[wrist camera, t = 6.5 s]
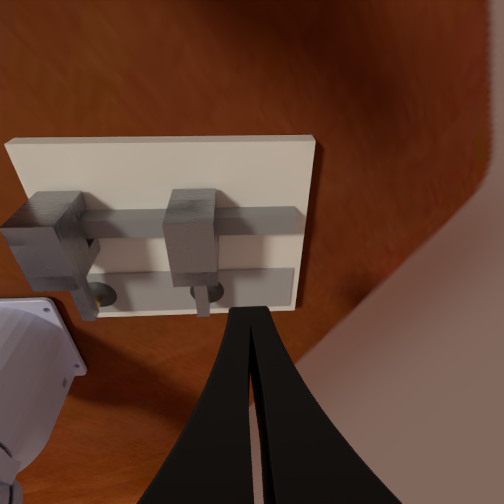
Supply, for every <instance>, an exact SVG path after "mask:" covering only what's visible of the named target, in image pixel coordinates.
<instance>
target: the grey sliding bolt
mask: <svg viewBox="0 0 504 504" xmlns="http://www.w3.org/2000/svg"><path fill="white" fill-rule="evenodd" d="M216 209H217V200H216V188H205V189H173V190H172V193H171V196H170V199H169V203H168V206H167V209H166V213H165V216H164V219H163V223H162V228H163V233H164V239H165V244H166V249H167V255H168V260H169V266H170V271H171V277H172V282H173V287H194V294H195V301H196V309H197V316H198V317H208V316H210V294H209V289H208V286H218V269H219V236H217V222H216Z"/></svg>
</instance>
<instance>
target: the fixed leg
mask: <svg viewBox="0 0 504 504" xmlns="http://www.w3.org/2000/svg"><path fill="white" fill-rule="evenodd" d="M86 207H87V206H86V203H85V200H84V197H83V194H82V191H37V192H36V193H34V194H33V195H32V196H31V197H30V198H29V199H28V200H27V201H26V202H25V203H24V204H23V205H22V206H21V207H20V208H19V209H18V210H17V211H16V212H15V213H14V214H13V215H12V216H11V217H10V218H9V219H8V220H7V221H6V222H5V223H4V224H3V225H2V226H1V227H0V231H1V233H2V234H3V236H4V238H5V240H6V242H7V244H8V246H9V247H10V249H11V251H12V253H13V255H14V257H15V259H16V260H17V262H18V264H19V266H20V268H21V270H22V272H23V273H24V275H25V277H26V279H27V281H28V283H29V285H30V286H31V288H32V290H33V292H36V291H68V290H69V291H70V293H71V295H72V298H73V300H74V302H75V304H76V307H77V309H78V311H79V313H80V315H81V318H82V320H83V321H96V318H97V316H98V314H99V307H100V305H101V303H102V300H103V299H102V297H101V296H99V295H94V296H93V294H92V291H91V289H90V286H89V283H88V281H87V278H86V277H87V275H88V273H89V271H90V269H91V267H92V265H93V263H94V261H95V259H96V257H97V255H98V254H99V252H100V250H101V248H100V245H99V242H98V239H86V238H85V235H84V232H83V230H82V227H81V224H80V221H79V217H80V216H81V214H82V213H83V211H84V210H85V208H86Z"/></svg>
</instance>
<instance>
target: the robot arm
mask: <svg viewBox="0 0 504 504" xmlns="http://www.w3.org/2000/svg"><path fill="white" fill-rule="evenodd" d="M86 372H87V368H86V366H85V364H84V362H83V360H82V358H81V356H80V354H79V352H78V350H77V348H76V346H75V344H74V342H73V340H72V338H71V336H70V334H69V332H68V330H67V328H66V326H65V324H64V322H63V320H62V318H61V316H60V314H59V312H58V310H57V308H56V306H55V304H54V302H53V301H52V300H51V299H50V298H46V297H40V298H10V299H0V504H22V499H23V493H22V487H21V484H20V483H19V482H18V481H16V480H14V479H15V477H16V474H17V473H18V472H20V471H21V470H23V469H24V468H25V467H27V466H28V465H29V464H30V463H31V462H32V461H33V460H34V459H35V458H36V457H37V456H38V455H39V453H40V452H41V451H42V449H43V448H44V447H45V445H46V443H47V441H48V439H49V437H50V435H51V432H52V430H53V428H54V425H55V423H56V420H57V418H58V415H59V413H60V411H61V408H62V406H63V403H64V401H65V398H66V396H67V394H68V391H69V389H70V386H71V384H72V382H73V379H74V377H75V376H82V375H85V374H86ZM250 374H251V381H252V388H253V395H254V402H255V409H256V416H257V423H258V430H259V438H260V449H261V464H262V482H263V498H264V504H402V503H401V502H400V500H399V499H398V498H397V497H396V496H395V495H394V494H393V493H392V492H391V491H390V490H389V489H388V488H387V487H386V486H385V485H384V484H383V482H381V480H380V479H379V478H378V477H377V476H376V475H375V474H374V473H373V472H372V470H371V469H370V468H369V467H368V466H367V465H366V464H365V462H364V461H363V460H362V459H361V458H360V457H359V456H358V454H357V453H356V452H355V451H354V450H353V448H352V447H351V446H350V445H349V443H348V442H347V441H346V440H345V438H344V437H343V436H342V435H341V433H340V432H339V431H338V430H337V428H336V427H335V426H334V425H333V423H332V422H331V421H330V419H329V418H328V417H327V415H326V414H325V412H324V411H323V410H322V408H321V407H320V405H319V404H318V402H317V401H316V399H315V398H314V397H313V395H312V394H311V392H310V390H309V389H308V388H307V386H306V384H305V383H304V381H303V379H302V378H301V376H300V374H299V373H298V371H297V369H296V367H295V366H294V364H293V362H292V360H291V358H290V356H289V354H288V353H287V351H286V349H285V347H284V345H283V343H282V341H281V339H280V336H279V334H278V332H277V329H276V327H275V325H274V322H273V319H272V316H271V314H270V310H269V308H268V307H267V306H245V307H231V308H230V309H229V311H228V319H227V324H226V329H225V333H224V336H223V340H222V343H221V346H220V349H219V352H218V355H217V358H216V361H215V363H214V366H213V368H212V371H211V373H210V375H209V378H208V380H207V383H206V385H205V387H204V390H203V392H202V394H201V396H200V398H199V400H198V402H197V404H196V406H195V408H194V410H193V412H192V414H191V416H190V418H189V420H188V422H187V424H186V426H185V427H184V429H183V431H182V433H181V435H180V436H179V438H178V440H177V442H176V443H175V445H174V447H173V448H172V450H171V452H170V453H169V455H168V457H167V458H166V460H165V461H164V463H163V465H162V466H161V468H160V469H159V471H158V473H157V474H156V476H155V477H154V479H153V480H152V482H151V484H150V485H149V486H148V488H147V489H146V491H145V492H144V494H143V495H142V497H141V498H140V500H139V501H138V502H137V504H254V493H253V478H252V461H251V445H250V426H249V385H250Z"/></svg>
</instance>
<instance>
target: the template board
mask: <svg viewBox="0 0 504 504" xmlns="http://www.w3.org/2000/svg"><path fill="white" fill-rule="evenodd" d="M315 142H316V141H315V139H314V138H313V136H312V135H261V136H157V137H53V138H13V139H12V140H10V141H9V142H7V143H5V144H4V145H5V147H6V150H7V152H8V154H9V156H10V158H11V161H12V163H13V165H14V167H15V170H16V172H17V174H18V176H19V179H20V181H21V183H22V185H23V188H24V190H25V192H26V194H27V197H28V199H29V198H30V197H31V196H32V195H33V194H34V193H36V192H37V191H82V194H83V197H84V200H85V203H86V206H87V207H86V208H85V210H84V211H83V213H82V214H81V216H80V217H79V221H80V224H81V227H82V230H83V232H84V235H85V238H86V239H98V242H99V245H100V248H101V250H100V252H99V254H98V255H97V257H96V259H95V261H94V263H93V265H92V267H91V269H90V271H89V273H88V275H87V277H86V278H87V281H88V283H89V286H90V289H91V291H92V294H93V296H94V295H99V296H101V297H102V299H103V300H102V303H101V305H100V307H99V314H98V316H97V317H118V316H146V315H174V314H197V309H196V301H195V294H194V287H173V282H172V277H171V271H170V266H169V260H168V255H167V249H166V244H165V239H164V233H163V228H162V223H163V219H164V216H165V213H166V209H167V206H168V203H169V199H170V196H171V193H172V190H173V189H205V188H216V200H217V209H216V222H217V236H219V269H218V286H208V289H209V294H210V313H228V311H229V309H230V308H231V307H245V306H267V307H268V308H269V310H270V311H286V310H295V304H296V296H297V287H298V279H299V271H300V263H301V255H302V247H303V239H304V231H305V223H306V215H307V207H308V199H309V191H310V183H311V175H312V167H313V159H314V151H315Z"/></svg>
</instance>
